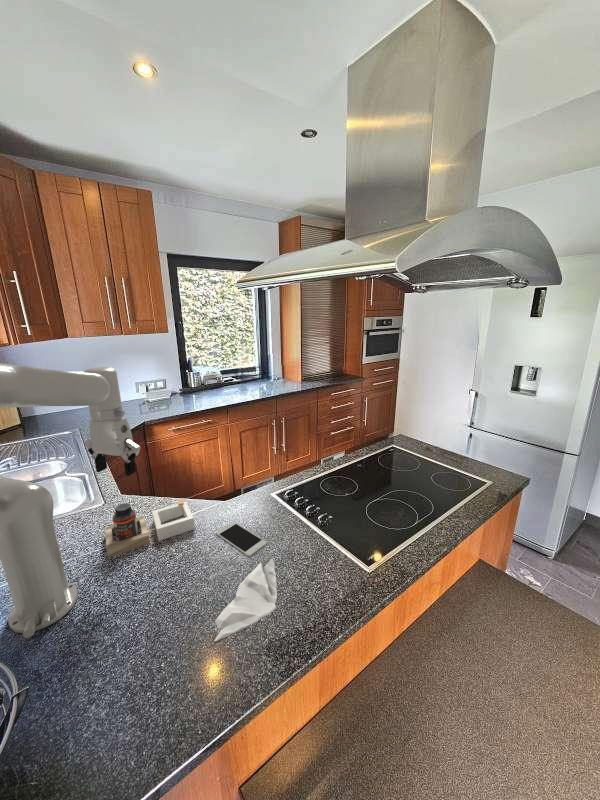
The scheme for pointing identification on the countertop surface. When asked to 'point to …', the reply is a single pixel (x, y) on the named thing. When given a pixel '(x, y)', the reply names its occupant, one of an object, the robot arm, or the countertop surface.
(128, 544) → the block
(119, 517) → the supplement bottle
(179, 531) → the socket block
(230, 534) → the smartphone
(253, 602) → the cloth
